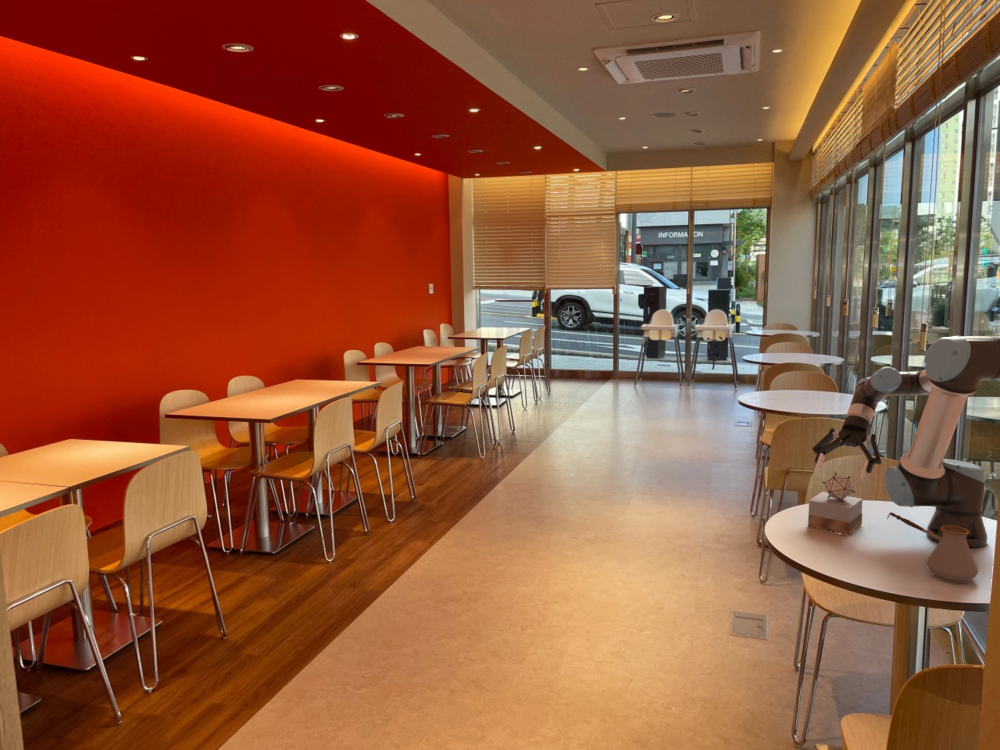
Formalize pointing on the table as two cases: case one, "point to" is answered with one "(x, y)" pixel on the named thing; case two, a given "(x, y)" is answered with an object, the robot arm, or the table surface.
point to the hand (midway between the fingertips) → (838, 476)
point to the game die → (838, 487)
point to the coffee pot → (949, 554)
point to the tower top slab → (835, 507)
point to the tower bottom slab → (834, 524)
